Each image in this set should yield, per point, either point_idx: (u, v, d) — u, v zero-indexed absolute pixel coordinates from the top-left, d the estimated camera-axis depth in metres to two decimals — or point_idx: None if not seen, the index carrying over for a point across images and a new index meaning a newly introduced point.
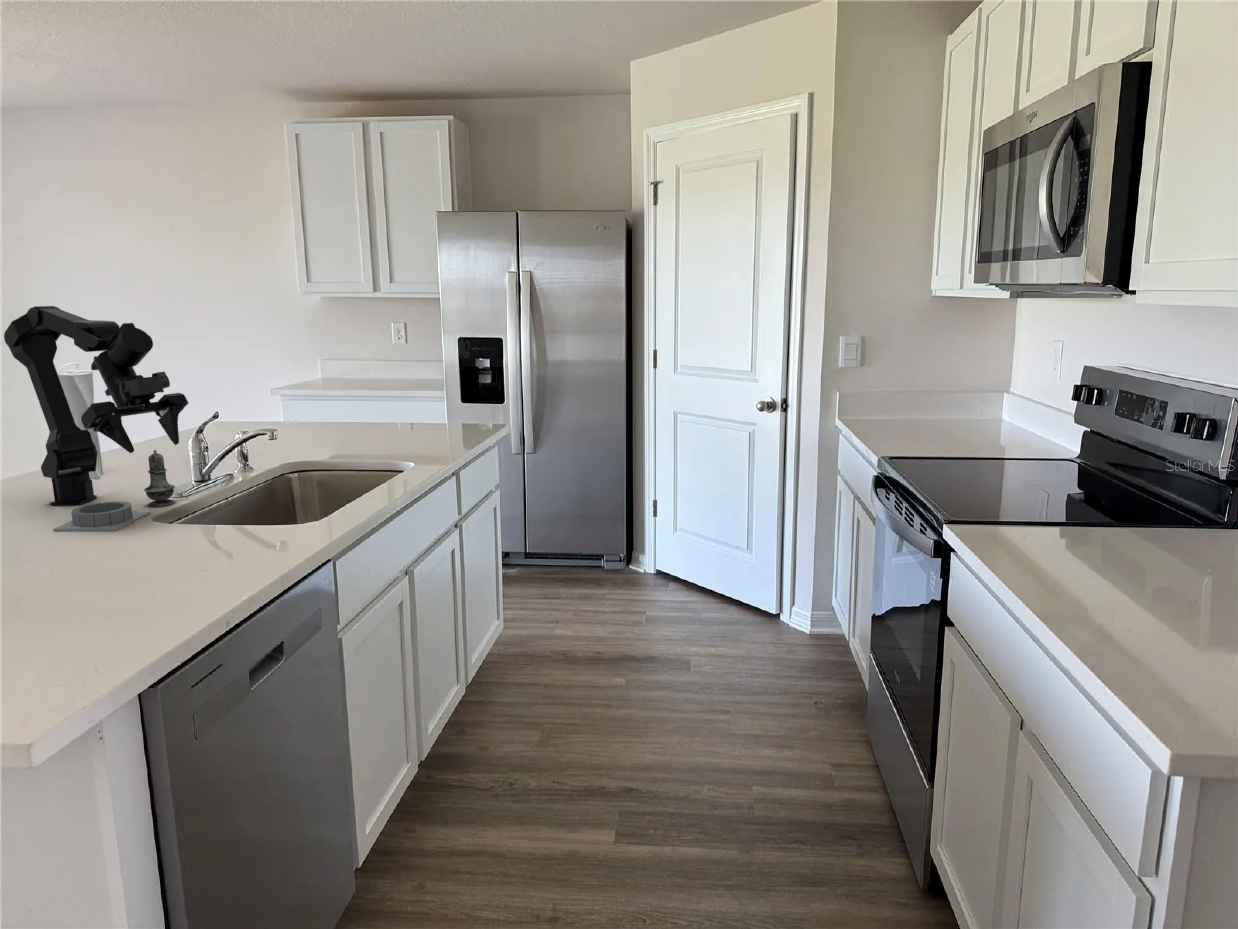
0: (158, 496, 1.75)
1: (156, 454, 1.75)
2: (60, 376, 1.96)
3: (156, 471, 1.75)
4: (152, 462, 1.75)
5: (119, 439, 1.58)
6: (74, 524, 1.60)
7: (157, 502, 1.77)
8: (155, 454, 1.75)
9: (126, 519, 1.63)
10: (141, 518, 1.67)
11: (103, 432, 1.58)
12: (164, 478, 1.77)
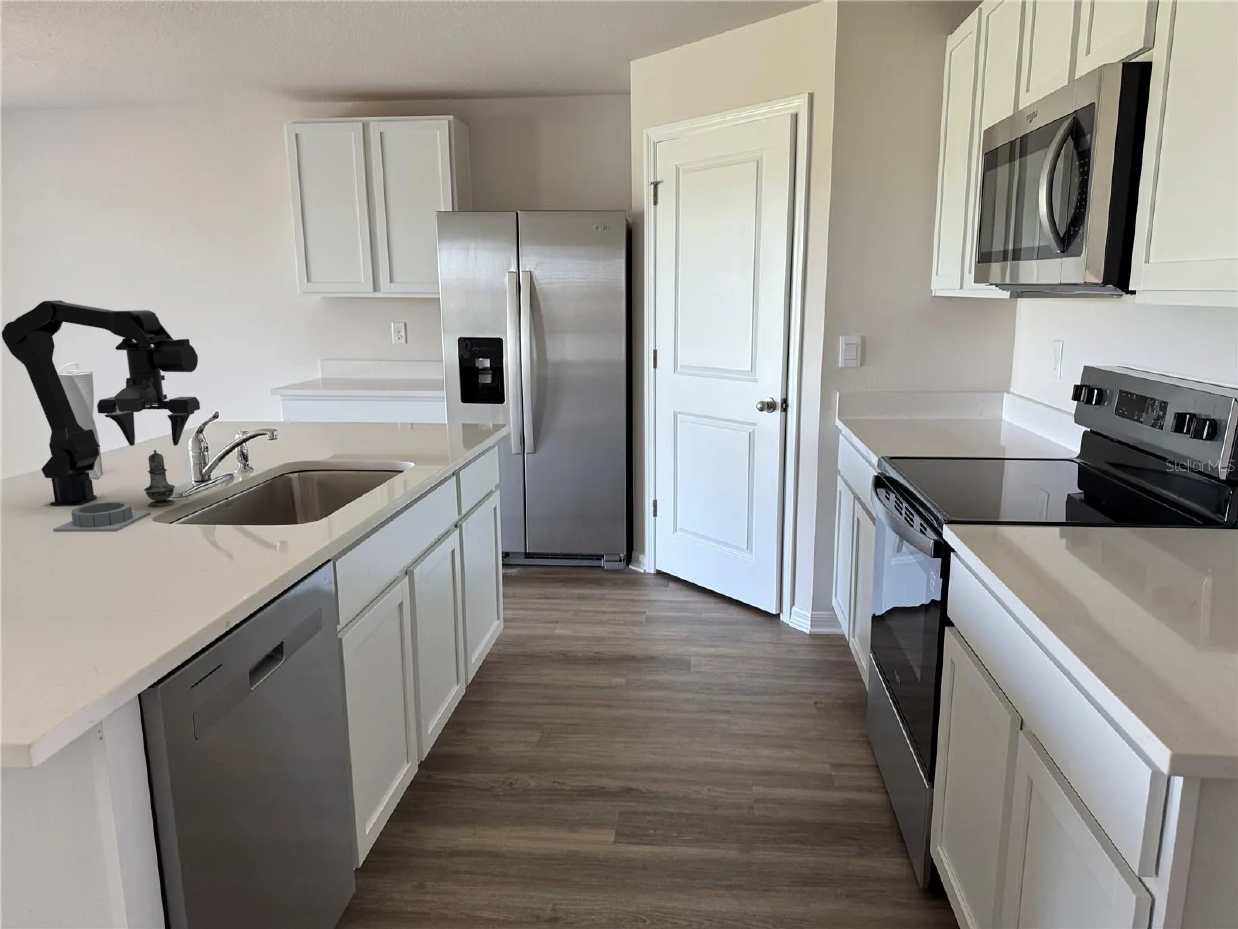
0: (158, 496, 1.75)
1: (156, 454, 1.75)
2: (60, 376, 1.96)
3: (156, 471, 1.75)
4: (152, 462, 1.75)
5: None
6: (74, 524, 1.60)
7: (157, 502, 1.77)
8: (155, 454, 1.75)
9: (126, 519, 1.63)
10: (141, 518, 1.67)
11: None
12: (164, 478, 1.77)
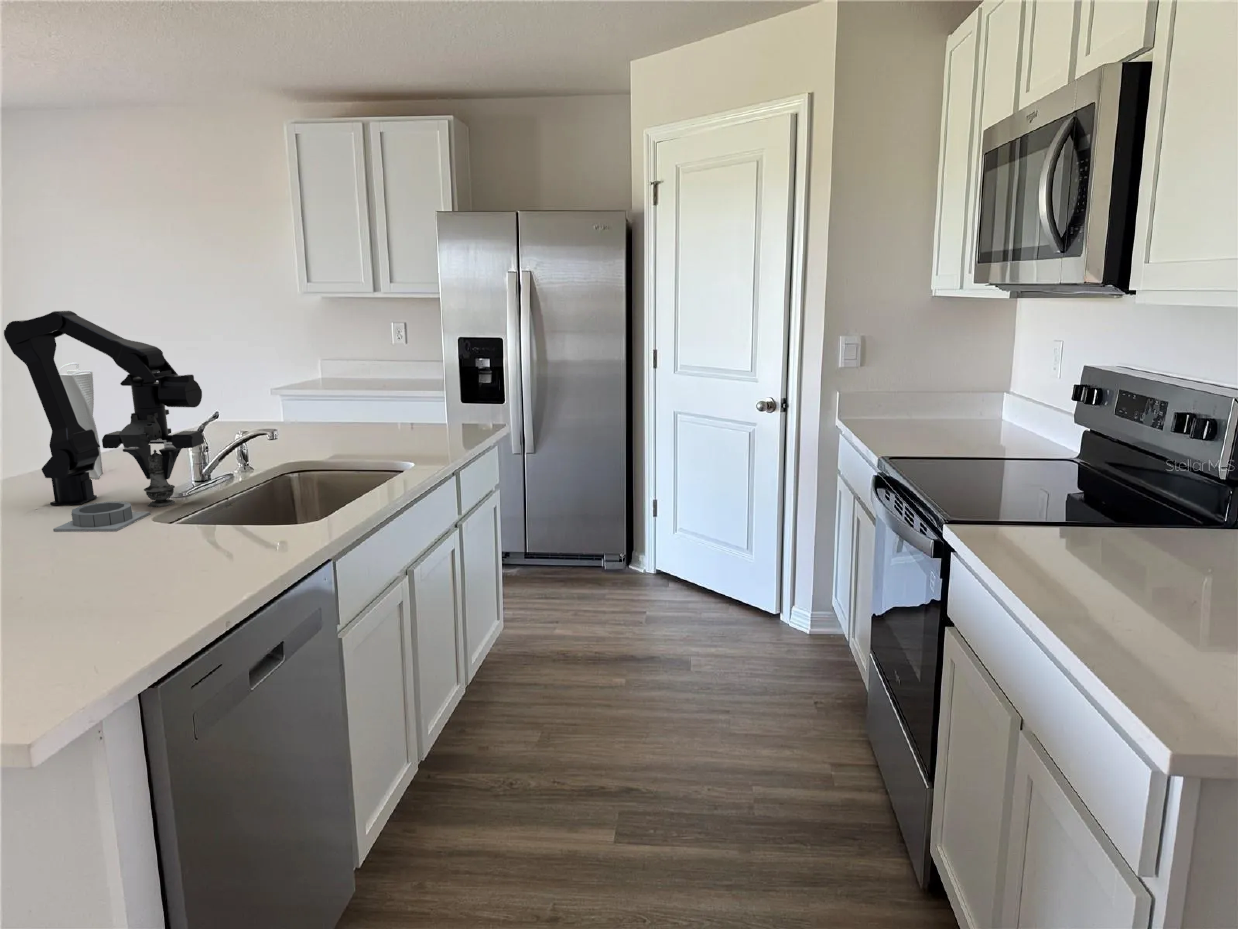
0: (158, 496, 1.75)
1: (156, 454, 1.75)
2: (60, 376, 1.96)
3: (156, 471, 1.75)
4: (152, 462, 1.75)
5: None
6: (74, 524, 1.60)
7: (157, 502, 1.77)
8: (155, 454, 1.75)
9: (126, 519, 1.63)
10: (141, 518, 1.67)
11: None
12: (164, 478, 1.77)
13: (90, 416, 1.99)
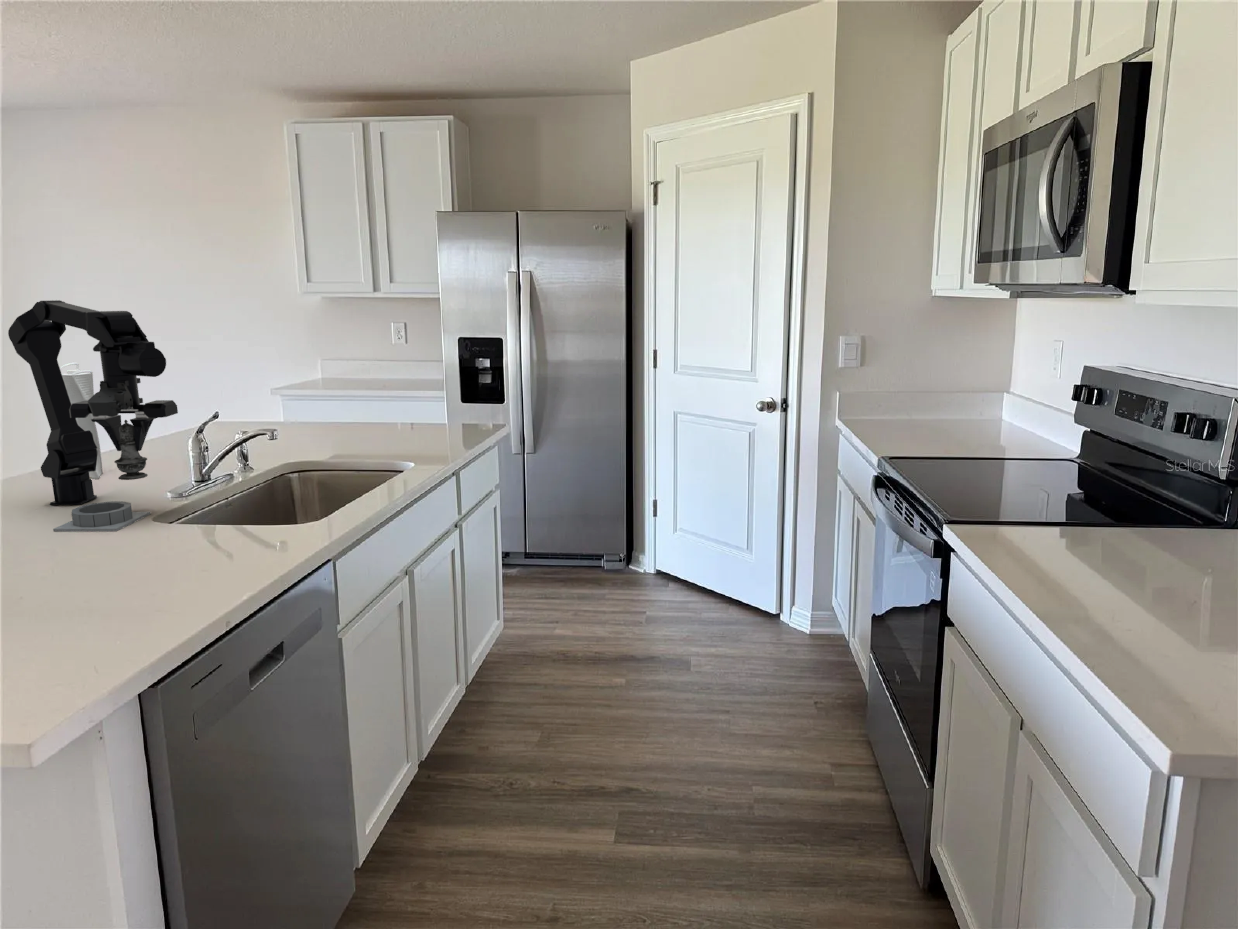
0: (130, 468, 1.68)
1: (127, 424, 1.68)
2: None
3: (127, 442, 1.67)
4: (123, 433, 1.67)
5: None
6: (74, 524, 1.60)
7: (128, 475, 1.69)
8: (126, 424, 1.68)
9: (126, 519, 1.63)
10: (141, 518, 1.67)
11: None
12: (136, 449, 1.69)
13: (90, 416, 1.99)
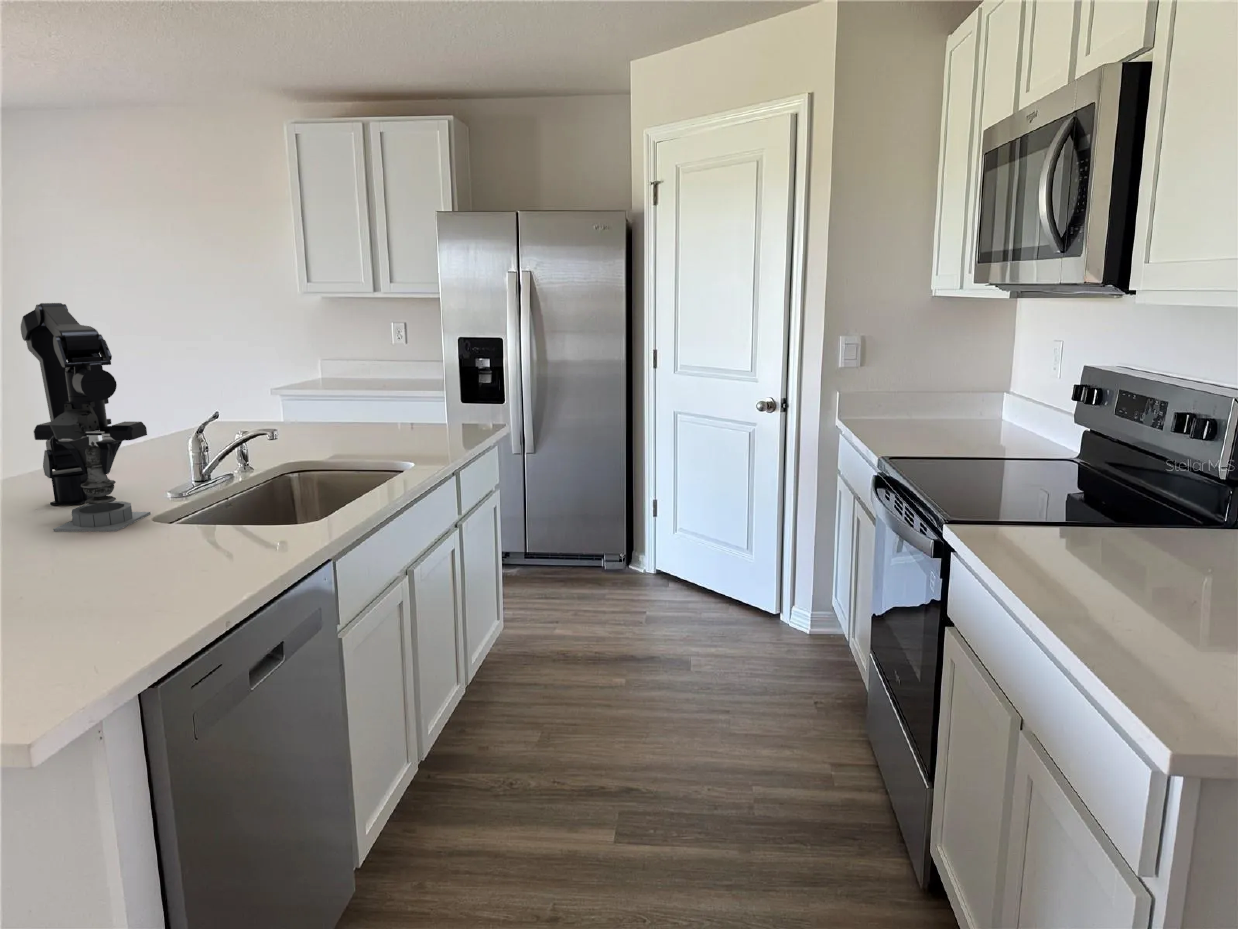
0: (96, 492, 1.61)
1: (94, 446, 1.61)
2: None
3: (94, 465, 1.60)
4: (90, 456, 1.60)
5: None
6: (74, 524, 1.60)
7: (95, 499, 1.62)
8: (93, 446, 1.61)
9: (126, 519, 1.63)
10: (141, 518, 1.67)
11: None
12: (103, 473, 1.62)
13: None
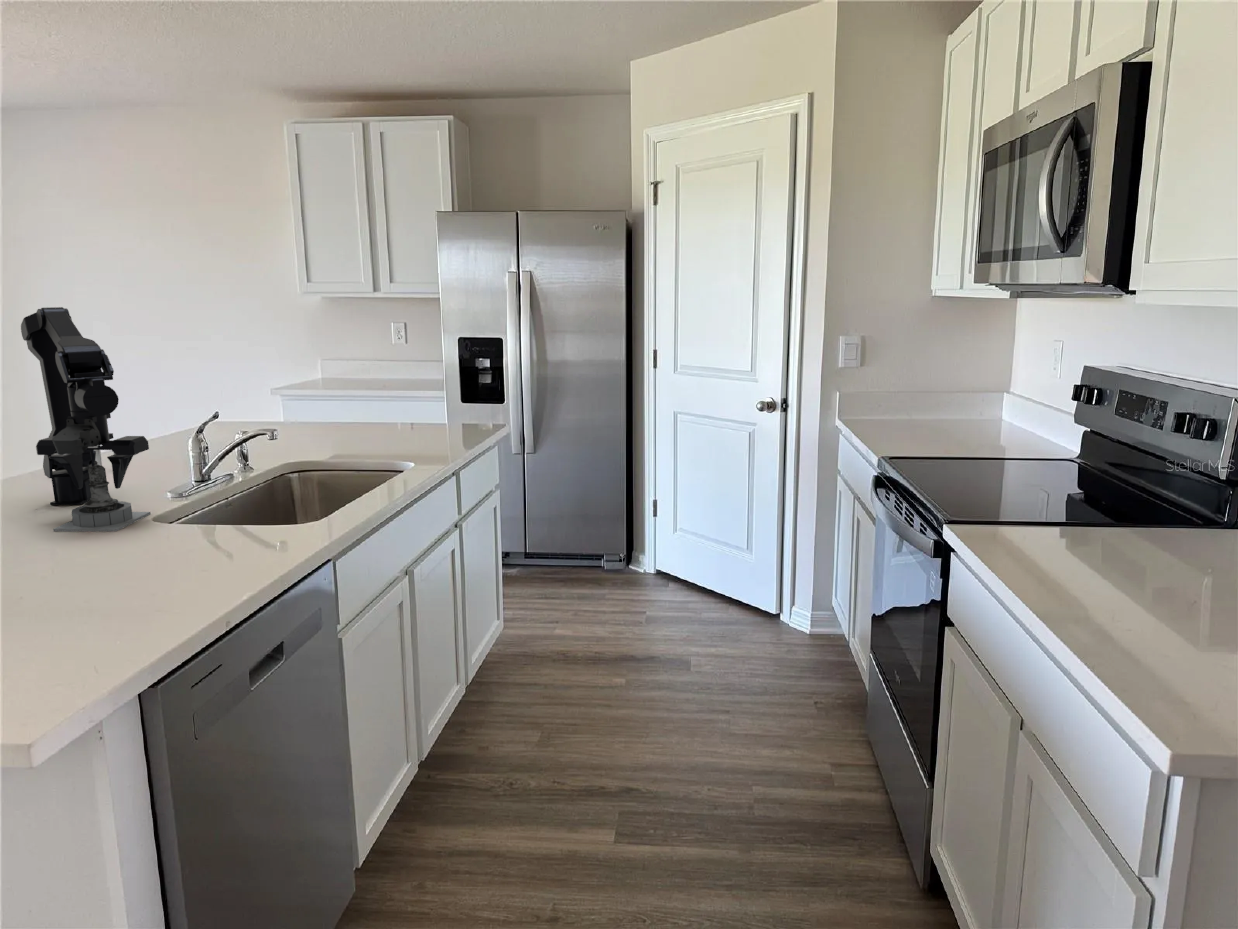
0: (99, 511, 1.61)
1: (97, 466, 1.62)
2: None
3: (97, 484, 1.61)
4: (93, 475, 1.61)
5: None
6: (74, 524, 1.60)
7: None
8: (96, 465, 1.62)
9: (126, 519, 1.63)
10: (141, 518, 1.67)
11: None
12: (106, 492, 1.63)
13: None
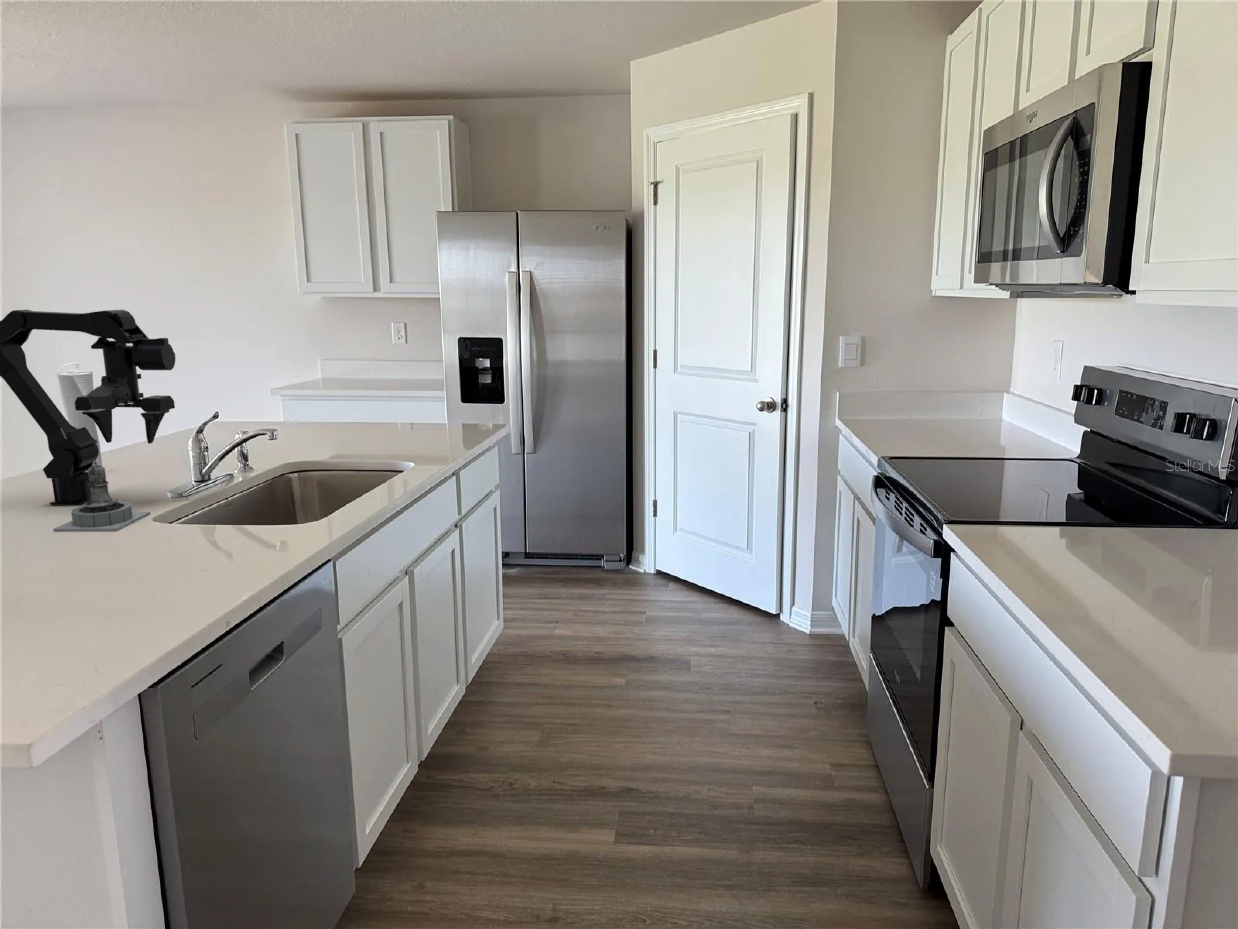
0: (99, 511, 1.61)
1: (96, 466, 1.61)
2: (60, 376, 1.96)
3: (96, 484, 1.61)
4: (92, 475, 1.61)
5: None
6: (74, 524, 1.60)
7: None
8: (96, 465, 1.62)
9: (126, 519, 1.63)
10: (141, 518, 1.67)
11: None
12: (105, 492, 1.63)
13: None
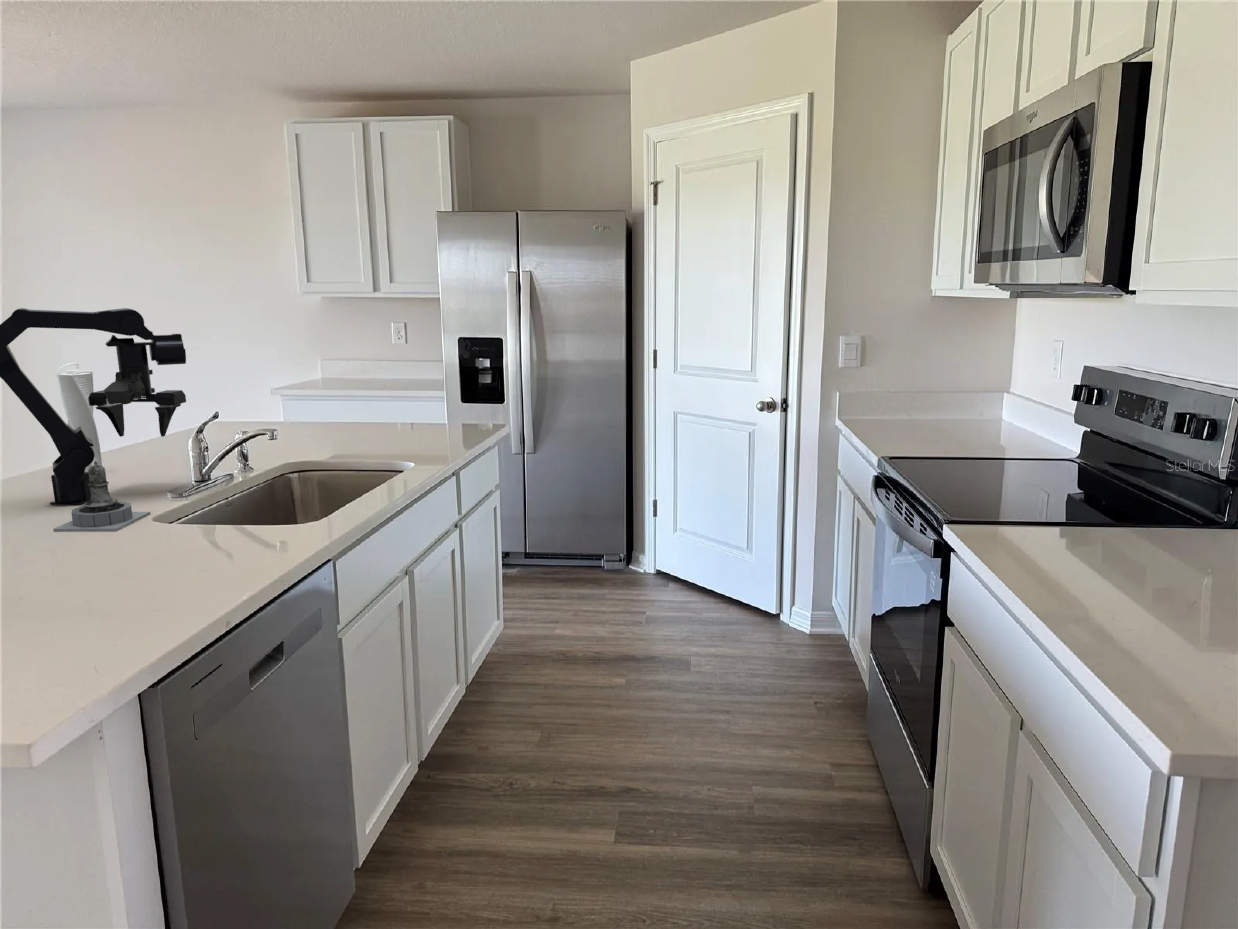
0: (99, 511, 1.61)
1: (97, 466, 1.62)
2: (60, 376, 1.96)
3: (96, 484, 1.61)
4: (92, 475, 1.61)
5: None
6: (74, 524, 1.60)
7: None
8: (96, 465, 1.62)
9: (126, 519, 1.63)
10: (141, 518, 1.67)
11: None
12: (106, 492, 1.63)
13: (90, 416, 1.99)
